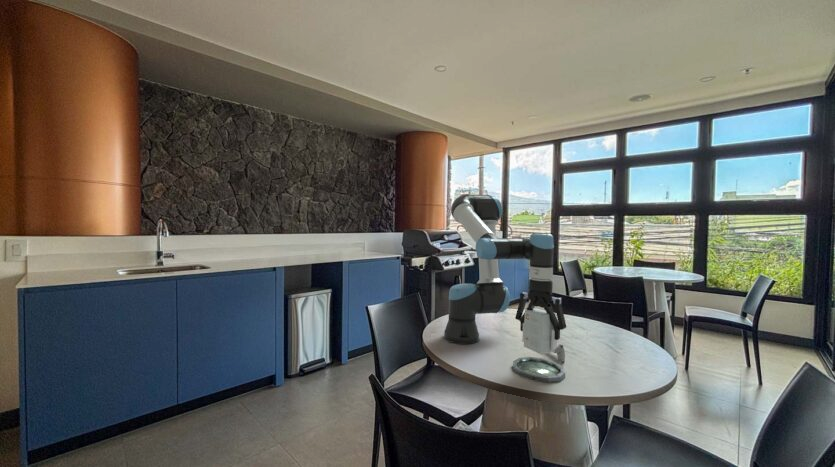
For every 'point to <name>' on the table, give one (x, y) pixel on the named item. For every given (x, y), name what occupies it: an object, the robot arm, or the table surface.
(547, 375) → the steel bowl
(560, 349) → the caliper
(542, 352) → the small box
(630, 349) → the table surface
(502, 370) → the table surface
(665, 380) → the table surface
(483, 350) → the table surface
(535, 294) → the robot arm
